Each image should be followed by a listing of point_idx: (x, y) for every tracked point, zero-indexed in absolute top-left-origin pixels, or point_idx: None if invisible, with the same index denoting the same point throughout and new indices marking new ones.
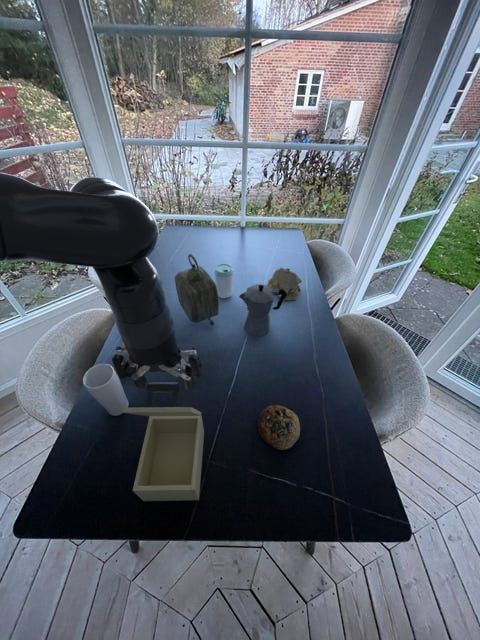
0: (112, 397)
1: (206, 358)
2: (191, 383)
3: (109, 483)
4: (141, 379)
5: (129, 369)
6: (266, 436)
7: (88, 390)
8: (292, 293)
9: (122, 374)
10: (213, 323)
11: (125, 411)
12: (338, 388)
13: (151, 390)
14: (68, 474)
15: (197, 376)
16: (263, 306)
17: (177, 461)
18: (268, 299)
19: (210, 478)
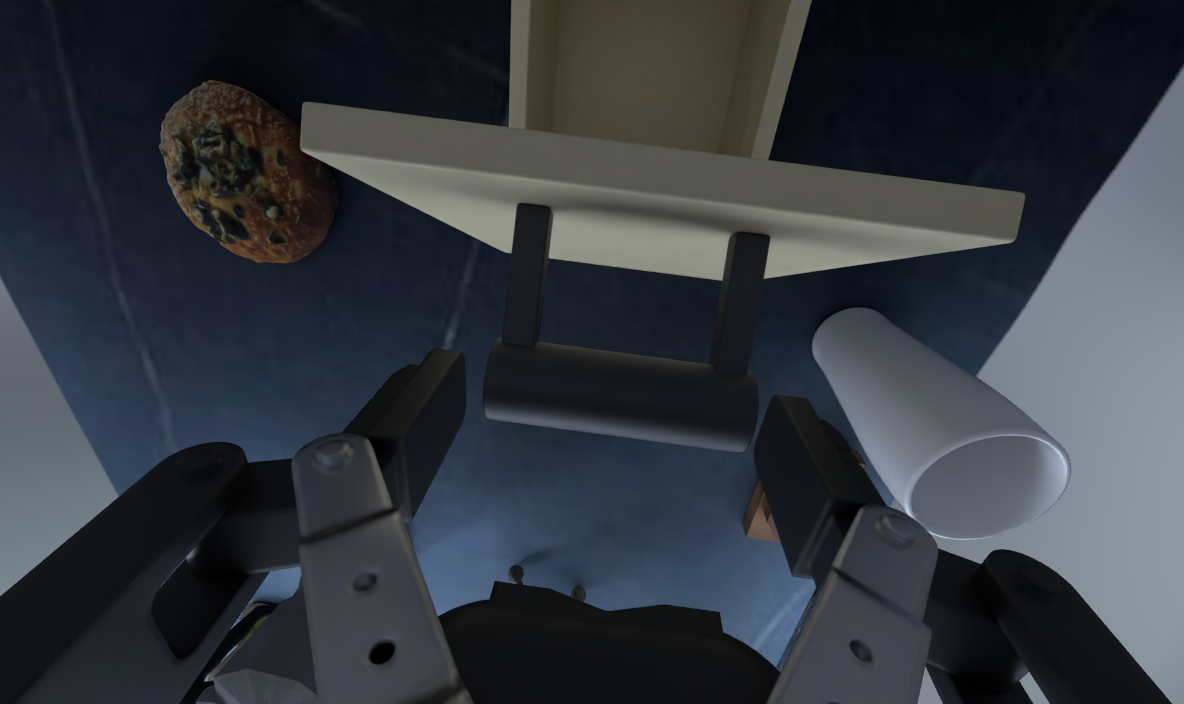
0: (899, 373)
1: (535, 462)
2: (382, 393)
3: (908, 41)
4: (801, 489)
5: (943, 640)
6: (282, 140)
7: (1036, 423)
8: (255, 628)
9: (1056, 622)
10: (511, 571)
11: (999, 200)
12: (64, 296)
13: (717, 381)
14: (1064, 102)
15: (176, 468)
16: (264, 649)
17: (636, 91)
18: (232, 680)
19: (508, 6)
